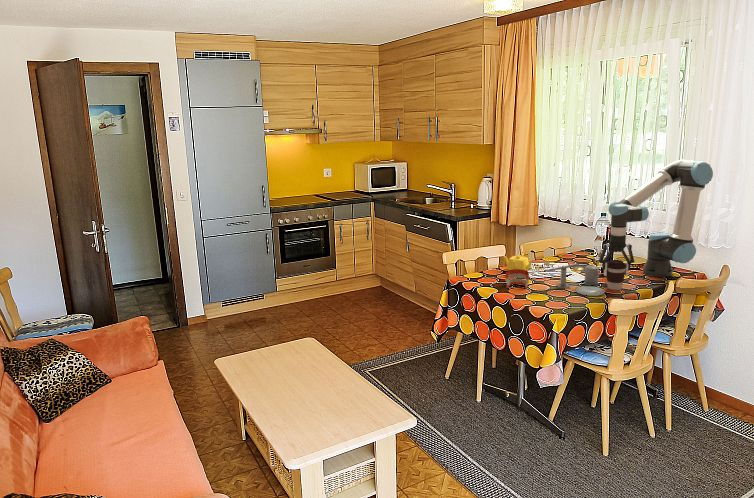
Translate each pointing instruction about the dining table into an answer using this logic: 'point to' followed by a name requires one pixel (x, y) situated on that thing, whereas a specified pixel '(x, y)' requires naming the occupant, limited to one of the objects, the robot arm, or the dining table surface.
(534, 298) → the dining table surface
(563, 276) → the balance
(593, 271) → the grey rounded capsule
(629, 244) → the robot arm
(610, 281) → the coffee cup
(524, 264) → the teapot
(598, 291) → the pale grey round disc
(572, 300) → the dining table surface
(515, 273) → the toy
